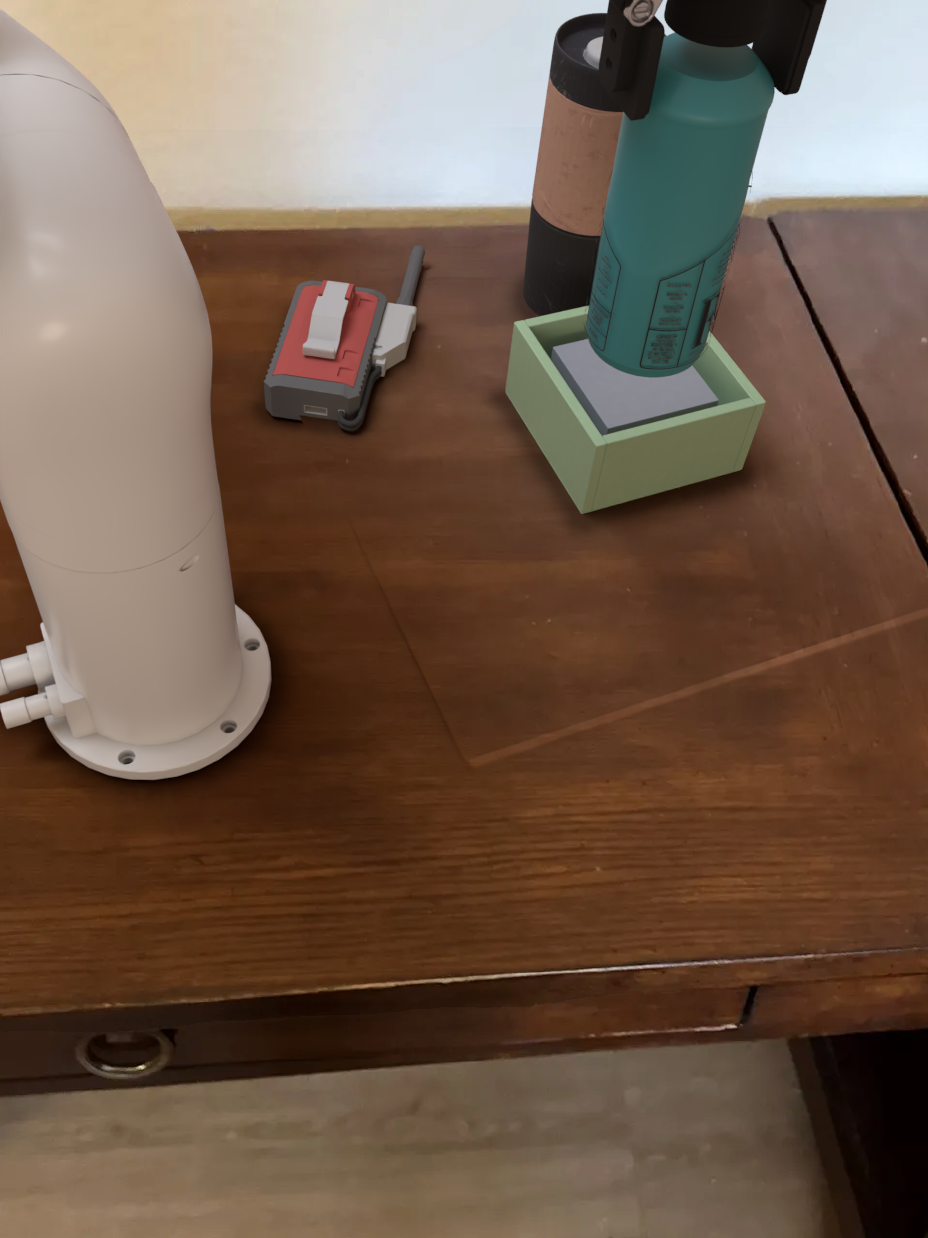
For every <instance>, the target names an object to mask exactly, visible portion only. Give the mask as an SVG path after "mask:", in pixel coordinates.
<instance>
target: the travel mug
mask: <svg viewBox="0 0 928 1238" xmlns="http://www.w3.org/2000/svg"><path fill="white" fill-rule="evenodd" d="M606 16H607V12H592V13H586V14H581V15H578V16H574V17H572V18H569V19H567V20H565V22H563V23H562V24H561V25H560V26H559V27H558V28H557V30H556V32H555V36H554V38H553V39H554V40H553V45H552V53H551V59H550V67H549V73H548V80H547V81H548V82H547V88H546V93H545V103H544V110H543V115H542V123H541V131H540V137H539V145H538V152H537V159H536V164H535V165H536V166H535V172H534V179H533V186H532V192H531V194H532V195H531V197H532V198H531V202H530V214H529V226H528V233H527V243H526V244H527V245H526V255H525V257H526V258H525V265H524V275H523V288H522V295H523V299H524V301H525V303H526V305H527V306H528V307H529V309H530V310H531V311H532V312H534V313H535V314H536V315H537V316H538V317H539V316H544V315H548V314H553V313H557V312H562V311H566V310H571V309H575V308H580V307H584V306H588V305H589V303H590V300H589V301H588V299H590V298H589V297H591V292H590V294H589V295H588V292H589V286H590V280H591V278H590V277H591V274H592V267H593V260H594V256H595V254H594V253H595V250H596V248H597V252H596V258H595V264H594V270H593V276H592V282H591V288H590V291H592V285H593V279H594V273H595V267H596V261H597V255H598V249H599V245H598V244H599V243H600V237H601V231H602V228H601V227H602V225H603V219H604V213H603V212H604V211H605V208H604V207H606V201H607V200H605V199H607V196H608V191H609V187H610V182H611V178H612V174H611V173H612V171H613V167H614V161H615V155H616V150H617V144H618V139H619V133H620V127H621V122H622V116H623V111H622V110H621V108H620V107H619V106H618V105H617V103H616V102H615V101H614V100H613V99H612V97H611V96H610V95H609V94H608V92H607V91H606V90H605V89H604V87H603V85H602V83H601V81H600V78H599V61H600V54H601V48H602V42H603V35H604V29H605V23H606ZM666 36H667V34H666V33H665V35H664V37H666ZM610 175H611V176H610ZM609 177H610V178H609ZM608 180H609V181H608ZM603 198H604V200H603ZM603 209H604V210H603ZM602 210H603V211H602ZM601 213H602V214H601ZM602 215H603V216H602ZM601 222H602V223H601ZM600 229H601V230H600ZM599 231H600V232H599ZM598 233H599V234H598ZM596 242H597V243H596ZM597 246H598V247H597ZM587 297H588V299H587ZM587 301H588V303H587V305H586V302H587Z"/></svg>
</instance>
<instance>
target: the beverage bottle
mask: <svg viewBox="0 0 928 1238" xmlns="http://www.w3.org/2000/svg"><path fill="white" fill-rule="evenodd" d="M769 1H770V0H666V3H665V8H664V13H663V18H664V22H665V23H666V25H667V26H668V28H669V29H671V30H672V33H670V34H667V35H666V37H664V40H663V45H662V50H661V55H660V60H659V65H658V70H657V75H656V81H655V86H654V91H653V96H652V101H651V106H650V111H649V113H648V114H647V115H646V117H645V118H644V119H640V120H634V121H631V120H630V119H629V118H628V117H627V116H626V114H625V113H624V112H623V116H622V122H621V127H620V133H619V139H618V144H617V150H616V155H615V161H614V167H613V171H612V173H611V174H612V178H611V182H610V187H609V191H608V196H607V199H605V200H607V201H606V207H604V208H605V211H604V212H603V213H604V219H603V225H602V227H601V228H602V231H601V237H600V243H599V244H598V245H599V249H598V255H597V261H596V267H595V273H594V279H593V285H592V291H590V288H591V282H592V276H593V270H594V264H595V258H596V252H597V248H596V250H595V253H594V254H595V256H594V260H593V267H592V274H591V277H590V278H591V280H590V286H589V292H588V295H589V294H590V292H591V297H589V298H590V299H588V297H587V299H588V301H589V300H590V303H589V305H588V306H589V309H588V315H587V321H586V327H585V325H584V327H585V330H586V331H587V332H586V333H587V336H588V340H589V343H590V345H591V347H592V349H593V350H594V352H595V353H596V354H597V355H598V357H599V358H601V359H602V360H603V361H604V362H605V363H607V364H608V365H610V366H612V367H613V368H615V369H617V370H620V371H622V372H625V373H627V374H631V375H635V376H641V377H650V378H651V377H666V376H672V375H675V374H678V373H681V372H683V371H685V370H687V369H688V368H690V367H691V366H692V365H693V364H694V363H695V362H696V361H697V360H698V358H699V357H700V355H701V353H702V352H703V350H704V348H705V346H706V345H707V344H708V342H707V343H706V341H707V338H708V334H709V331H710V338H711V333H712V334H713V331H714V328H715V323H716V320H717V316H718V313H719V309H720V305H721V302H722V298H723V295H724V291H725V288H726V285H724V286H723V284H724V282H725V278H726V277H728V275H729V274H730V270H731V269H730V267H728V266H731V265H732V262H733V258H734V254H735V252H736V246H737V244H738V243H736V241H738V238H739V237H740V234H741V227H740V226H741V223H742V221H743V218H744V217H742V214H743V211H744V207H745V203H746V199H747V195H748V190H749V193H751V192H752V191H751V190H752V187H753V184H751V185H750V181H751V180H753V169H754V166H755V163H756V162H755V161H756V158H757V155H758V150H759V147H760V143H761V139H762V136H763V132H764V128H765V125H766V120H767V118H768V112H769V110H770V108H771V107H772V104H773V102H774V99H775V93H776V92H775V90H776V88H775V87H774V82H773V79H772V77H771V75H770V73H769V71H768V69H767V68H766V66H765V65H764V64H763V62H762V61H761V60H760V58H759V57H758V56H757V54H756V53H755V52H754V51H753V50H752V47H751V46H749V45H751V44H753V42H755V41H757V40H758V39H759V38H761V36H762V35H763V33H764V30H765V27H766V23H767V18H768V7H769ZM610 176H611V175H610ZM609 178H610V177H609ZM608 181H609V180H608ZM749 188H750V189H749ZM603 200H604V198H603ZM749 201H750V200H748V202H747V203H749ZM746 207H748V204H747V205H746ZM603 210H604V209H603ZM603 210H602V211H603ZM601 214H602V213H601ZM602 216H603V215H602ZM741 217H742V218H741ZM601 223H602V222H601ZM600 230H601V229H600ZM599 232H600V231H599ZM598 234H599V233H598ZM596 243H597V242H596ZM597 247H598V246H597ZM722 286H723V288H722ZM721 290H722V292H721ZM720 295H721V296H720ZM719 299H720V300H719ZM588 301H587V302H586V305H587V303H588ZM587 308H588V307H587ZM585 309H586V308H585ZM586 310H587V309H586ZM585 312H586V311H585ZM713 320H714V321H713ZM705 351H706V350H705ZM705 351H704V352H705ZM704 352H703V353H704Z"/></svg>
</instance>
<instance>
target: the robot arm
mask: <svg viewBox="0 0 928 1238" xmlns="http://www.w3.org/2000/svg"><path fill="white" fill-rule="evenodd" d="M663 1H664V0H608V4H607V10H606V13H607V16H606V23H605V29H604V35H603V42H602V48H601V54H600V61H599V78H600V81H601V83H602V85H603V87H604V89H605V90H606V91H607V92H608V94H609V95H610V96H611V97H612V99H613V100H614V101H615V102H616V103H617V105H618V106H619V107H620V108H621V110H622V111H623V112H624V113H625V114H626V116H627V117H628V118H629V119H630V120H631V121H634V120H640V119H644V118H645V117H646V115H647V114H648V113H649V111H650V106H651V101H652V96H653V91H654V86H655V81H656V75H657V70H658V65H659V60H660V55H661V50H662V45H663V40H664V35H665V34H666V32H665V31H666V30H665V26H664V24H663V23H662V22H661V21H660V20H659V19H658V18H657V16H656V14H657V12H658V10H659V8H660V6H661V5H662V3H663ZM827 1H828V0H770V1H769V7H768V18H767V23H766V27H765V30H764V33H763V35H762V36H761V38H759V39H758V40H757V41H755V42H753V43H752V45H751V49H752V50H753V51H754V52H755V53H756V54H757V56H758V57H759V58H760V60H761V61H762V62H763V64H764V65H765V66H766V68H767V69H768V71H769V73H770V75H771V77H772V79H773V82H774V88H775V90H777V91H778V92H779V93H780V94H782V95H783V96H789V95H795V94H798V92H799V91H800V89H801V87H802V82H803V80H804V76H805V73H806V70H807V66H808V63H809V59H810V57H811V55H812V52H813V48H814V45H815V42H816V38H817V35H818V31H819V28H820V25H821V22H822V18H823V15H824V12H825V9H826V5H827ZM202 292H203V291H202V288H201V285H200V283H199V280H198V278H197V275H196V272H195V269H194V267H193V265H192V263H191V260H190V258H189V255H188V253H187V251H186V249H185V246H184V244H183V242H182V240H181V237H180V236H179V233H178V231H177V230H176V228H175V226H174V224H173V222H172V220H171V218H170V216H169V213H168V211H167V209H166V207H165V205H164V203H163V201H162V199H161V197H160V195H159V193H158V191H157V188H156V186H155V185H154V183H153V182H152V181H151V179H150V177H149V175H148V173H147V170H146V169H145V166H144V163H143V162H142V160H141V157H140V156H139V154H138V151H137V150H136V148H135V146H134V144H133V141H132V140H131V138H130V136H129V134H128V132H127V130H126V128H125V126H124V125H123V123H122V121H121V120H120V118H119V116H118V115H117V113H116V111H115V110H114V109H113V106H111V104H110V102H109V101H108V100H107V98H106V97H105V96H104V94H103V93H102V92H101V91H100V90H99V88H97V86H96V85H95V84H94V83H92V81H90V80H89V78H87V77H86V76H85V75H84V74H83V73H82V72H81V71H80V70H79V69H78V68H76V66H74V65H73V64H72V63H71V62H70V61H68V59H66V58H65V57H63V55H61V54H60V53H59V52H57V50H55V49H54V48H53V47H51V46H50V45H49V44H47V42H45V41H43V39H41V38H40V37H38V36H37V35H36V34H35V33H33V32H32V31H31V30H29V29H28V28H27V27H25V26H24V25H22V23H20V22H19V21H17V20H16V19H15V18H13V17H12V16H11V15H10V14H8V13H7V12H6V11H5V10H3V9H2V8H0V503H1V507H2V510H3V513H4V515H5V519H6V521H7V525H8V526H9V528H10V530H11V533H12V535H13V538H14V542H15V544H16V548H17V551H18V554H19V557H20V559H21V562H22V565H23V568H24V571H25V574H26V576H27V580H28V582H29V585H30V588H31V591H32V594H33V597H34V600H35V603H36V606H37V609H38V611H39V614H40V617H41V620H42V622H41V623H40V624H39V626H40V630H41V634H42V638H43V641H39V642H37V643H32V644H29V645H26V646H25V649H26V652H25V653H22V654H18V655H14V656H11V657H7V658H3V659H0V697H1V696H5V695H8V694H10V693H11V692H12V691H16V690H20V689H23V688H27V687H30V686H34V685H36V686H37V694H34V695H30V696H26V697H25V696H22V697H18V698H14V699H12V700H7V701H4V702H1V703H0V713H1V718H2V720H3V723H4V726H5V728H6V729H7V730H9V729H12V728H16V727H19V726H23V725H26V724H29V723H32V721H34V720H38V719H42V718H44V722H45V724H46V727H47V728H48V730H49V732H50V733H51V735H52V736H53V739H54V740H55V742H56V743H57V744H58V745H59V746H60V747H61V748H62V749H63V750H64V751H65V752H66V753H67V754H68V755H69V756H70V757H71V758H73V759H74V760H76V761H77V762H78V763H80V764H82V765H84V766H85V767H86V768H88V769H91V770H93V771H96V772H99V773H100V774H101V773H102V774H104V775H107V776H110V777H114V778H115V777H116V778H120V779H125V780H135V781H136V780H142V781H143V780H144V781H145V780H146V781H157V780H163V779H168V778H169V779H170V778H175V777H179V776H183V775H186V774H190V773H192V772H193V773H194V772H196V771H199V770H201V769H203V768H205V767H207V766H210V765H211V764H213V763H214V762H217V761H219V760H220V759H222V758H223V757H225V756H226V755H228V754H229V753H230V752H231V751H233V750H234V749H235V748H237V747H238V746H239V745H240V744H241V743H242V742H243V741H244V740H245V739H246V738H247V737H248V736H249V734H251V732H252V731H253V730H254V728H255V726H256V725H257V723H258V722H259V720H260V719H261V718H262V716H263V714H264V711H265V709H266V706H267V703H268V701H269V698H270V692H271V686H272V664H271V663H272V662H271V657H270V652H269V648H268V644H267V641H266V640H265V637H264V635H263V633H262V632H261V629H260V628H259V627H258V625H257V624H256V623H255V622H254V620H253V619H252V618H251V617H250V615H249V614H248V613H246V612H245V611H244V610H243V609H242V608H241V607H239V606H238V605H237V604H236V602H235V596H234V589H233V580H232V573H231V566H230V557H229V550H228V542H227V541H228V540H227V535H226V533H227V532H226V528H225V526H226V525H225V519H224V512H223V511H224V510H223V503H222V497H221V496H222V495H221V489H220V483H219V478H218V471H217V470H218V469H217V462H216V455H215V454H216V453H215V446H214V439H213V427H212V413H211V411H212V409H211V407H212V406H211V400H212V399H211V398H212V397H211V395H212V381H213V380H212V379H213V378H212V377H213V339H212V337H213V336H212V330H211V329H212V328H211V323H210V319H209V313H208V310H207V304H206V301H205V299H204V295H203V293H202Z"/></svg>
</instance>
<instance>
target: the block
mask: <svg viewBox="0 0 928 1238" xmlns="http://www.w3.org/2000/svg"><path fill="white" fill-rule="evenodd" d="M551 361H552V362H553V364H554V365H555V367H556V368H557V370H558V371H559V373H560V374H561V376H562V377H563V379H564V380H565V382H566V383H567V385H568V386H569V388H570V389H571V391H572V392H573V394H574V395H575V397H576V398H577V400H578V401H579V403H580V404H581V406H582V407H583V409H584V410H585V412H586V413H587V415H588V416H589V418H590V419H591V421H592V422H593V424H594V425H595V427H596V428H597V430H598V431H599V433H600V434H601V436H603V435H607V434H611V433H615V432H618V431H622V430H626V429H630V428H634V427H638V426H642V425H646V424H649V423H653V422H657V421H661V420H665V419H669V418H673V417H677V416H681V415H684V414H688V413H692V412H696V411H700V410H704V409H708V408H712V407H716V406H717V405H718V402H719V399H718V398H717V397H716V396H715V394H714V393H713V392H712V390H711V389H710V388H709V386H708V385H707V384H706V382H705V381H704V380H703V379H702V377H701V376H700V375H699V373H698V372H697V371H696V369H695V368H694V367H693V365H692V366H691V367H690V368H688V369H687V370H685V371H683V372H681V373H678V374H675V375H672V376H666V377H651V378H650V377H641V376H635V375H631V374H627V373H625V372H622V371H620V370H617V369H615V368H613V367H612V366H610V365H608V364H607V363H605V362H604V361H603V360H602V359H601V358H599V357H598V355H597V354H596V353H595V352H594V350H593V349H592V347H591V345H590V343H589V340H588V339H585V340H581V341H577V342H572V343H568V344H564V345H559V346H555V347H553V349H552V355H551Z"/></svg>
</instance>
